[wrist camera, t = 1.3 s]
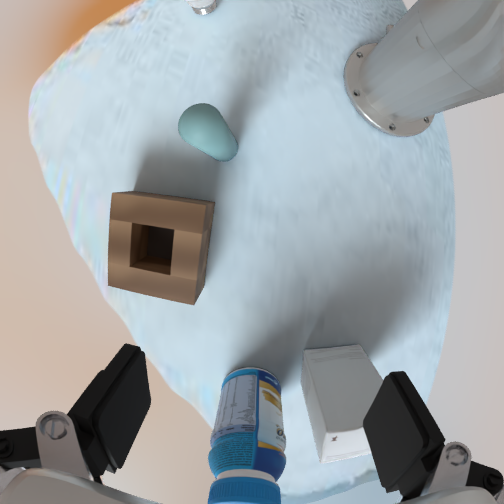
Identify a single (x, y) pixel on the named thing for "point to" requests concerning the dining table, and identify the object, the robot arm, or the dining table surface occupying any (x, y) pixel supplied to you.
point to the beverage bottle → (248, 440)
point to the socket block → (159, 244)
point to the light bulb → (202, 6)
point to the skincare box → (339, 399)
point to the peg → (207, 132)
